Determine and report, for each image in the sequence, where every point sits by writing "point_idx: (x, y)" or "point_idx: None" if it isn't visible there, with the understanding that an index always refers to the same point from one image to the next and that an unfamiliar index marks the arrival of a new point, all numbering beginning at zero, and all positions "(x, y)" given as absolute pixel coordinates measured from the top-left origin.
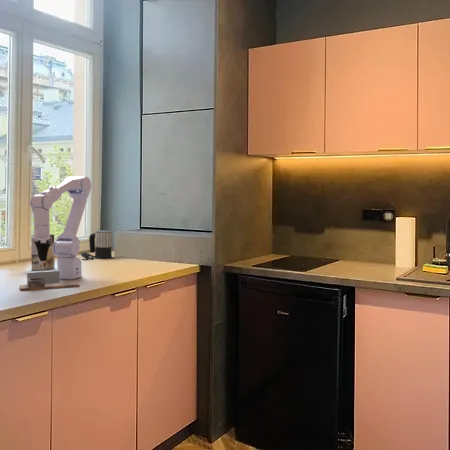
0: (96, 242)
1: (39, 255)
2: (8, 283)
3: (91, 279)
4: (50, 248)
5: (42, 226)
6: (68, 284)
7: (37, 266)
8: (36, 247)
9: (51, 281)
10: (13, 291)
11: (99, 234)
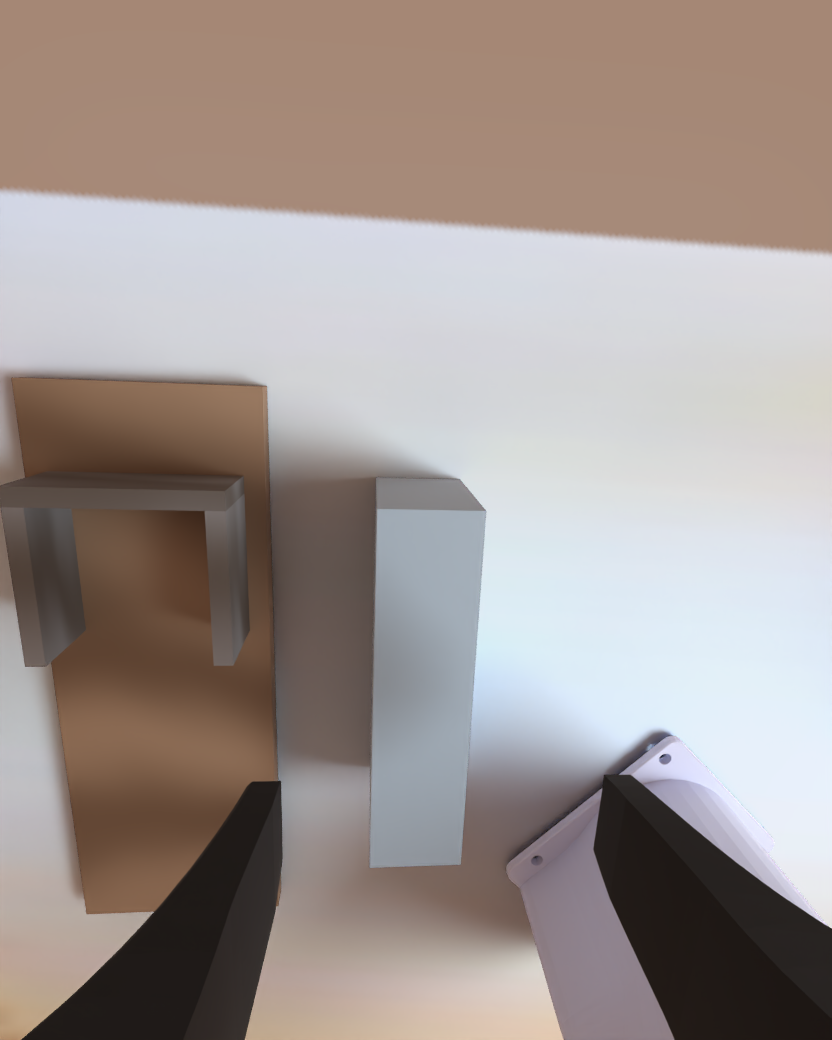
0: None
1: (199, 858)
2: (586, 283)
3: (445, 999)
4: None
5: None
6: (128, 834)
7: None
8: (782, 943)
9: (371, 711)
10: (10, 298)
11: None
